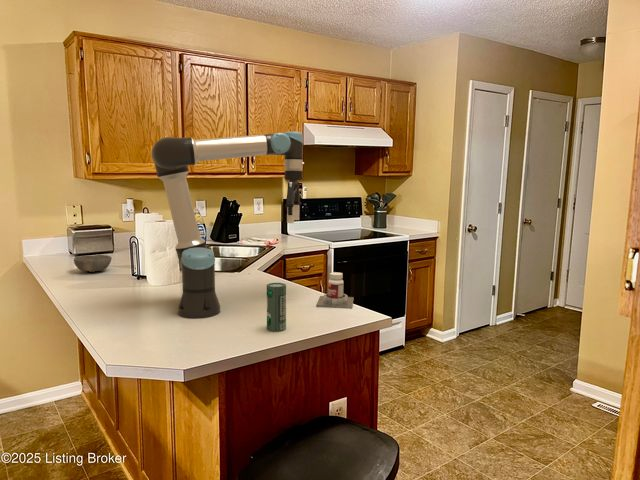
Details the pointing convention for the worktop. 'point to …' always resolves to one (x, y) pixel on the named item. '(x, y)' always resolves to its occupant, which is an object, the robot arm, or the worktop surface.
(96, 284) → the worktop surface
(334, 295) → the pill bottle
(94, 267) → the bowl
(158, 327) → the worktop surface
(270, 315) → the can
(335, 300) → the duct flange
